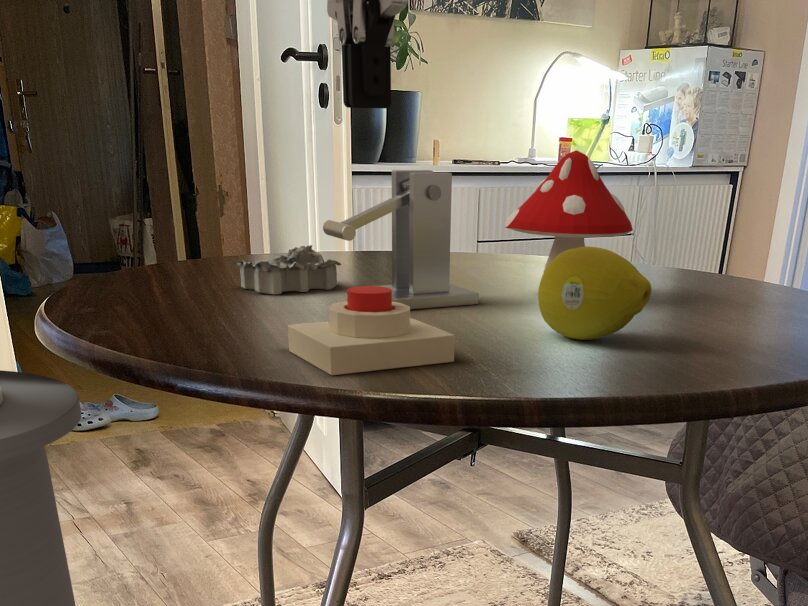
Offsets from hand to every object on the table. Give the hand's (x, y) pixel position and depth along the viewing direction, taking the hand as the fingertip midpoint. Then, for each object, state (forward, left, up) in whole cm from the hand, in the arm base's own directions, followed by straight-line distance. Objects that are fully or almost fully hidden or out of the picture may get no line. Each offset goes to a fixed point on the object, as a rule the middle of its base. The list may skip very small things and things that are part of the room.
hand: (367, 107), depth 68 cm
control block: (-1, -1, -18) cm, 18 cm away
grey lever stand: (+15, +20, -18) cm, 31 cm away
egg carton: (+6, +33, -19) cm, 38 cm away
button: (-1, -1, -15) cm, 15 cm away
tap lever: (+12, +20, -10) cm, 25 cm away
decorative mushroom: (+32, +17, -19) cm, 41 cm away
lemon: (+20, -3, -19) cm, 28 cm away
